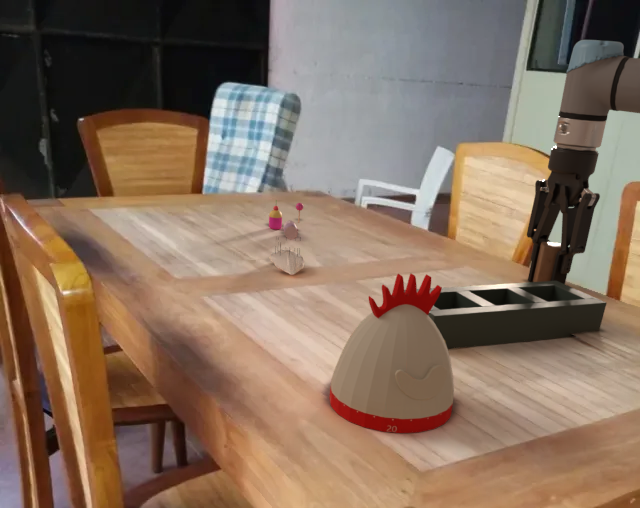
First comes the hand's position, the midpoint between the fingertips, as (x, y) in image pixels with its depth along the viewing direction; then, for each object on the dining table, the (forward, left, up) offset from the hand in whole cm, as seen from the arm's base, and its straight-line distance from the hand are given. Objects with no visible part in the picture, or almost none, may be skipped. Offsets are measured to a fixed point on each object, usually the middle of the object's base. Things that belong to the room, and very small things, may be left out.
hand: (545, 285), depth 127 cm
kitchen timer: (-35, +50, -1) cm, 61 cm away
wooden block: (0, 0, -1) cm, 1 cm away
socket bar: (-16, +22, -1) cm, 27 cm away
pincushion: (+20, +42, -1) cm, 47 cm away
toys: (+49, +31, -1) cm, 58 cm away
